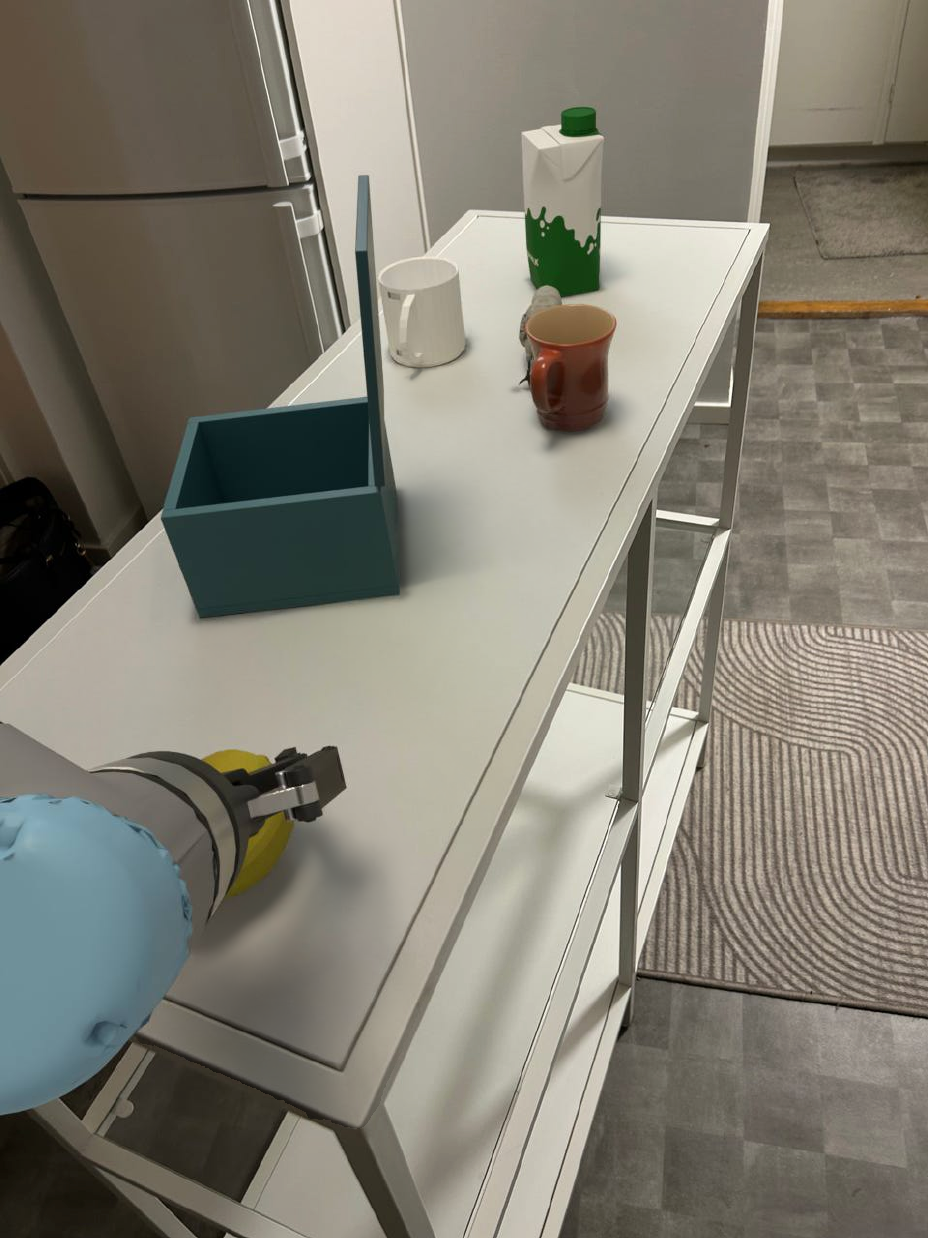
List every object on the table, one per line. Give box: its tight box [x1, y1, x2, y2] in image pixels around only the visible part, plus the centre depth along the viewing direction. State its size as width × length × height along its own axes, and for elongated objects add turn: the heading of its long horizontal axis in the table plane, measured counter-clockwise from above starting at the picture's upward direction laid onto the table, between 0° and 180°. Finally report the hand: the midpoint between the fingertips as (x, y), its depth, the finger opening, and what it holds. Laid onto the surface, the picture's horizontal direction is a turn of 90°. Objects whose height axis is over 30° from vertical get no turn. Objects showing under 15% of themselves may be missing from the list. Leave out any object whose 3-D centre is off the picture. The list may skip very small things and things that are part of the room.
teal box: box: [160, 396, 401, 619], centre depth 80 cm, size 17×15×10 cm
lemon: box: [200, 748, 295, 900], centre depth 57 cm, size 11×8×8 cm
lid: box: [354, 174, 385, 487], centre depth 70 cm, size 18×15×1 cm
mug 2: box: [525, 303, 617, 433], centre depth 91 cm, size 12×9×10 cm
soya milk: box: [520, 106, 605, 298], centre depth 113 cm, size 9×9×20 cm
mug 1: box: [377, 255, 466, 368], centre depth 106 cm, size 12×9×9 cm
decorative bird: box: [518, 285, 563, 388], centre depth 103 cm, size 5×16×8 cm, turn 173°
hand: (225, 785), depth 59 cm, fingers closed on lemon, 8 cm apart
